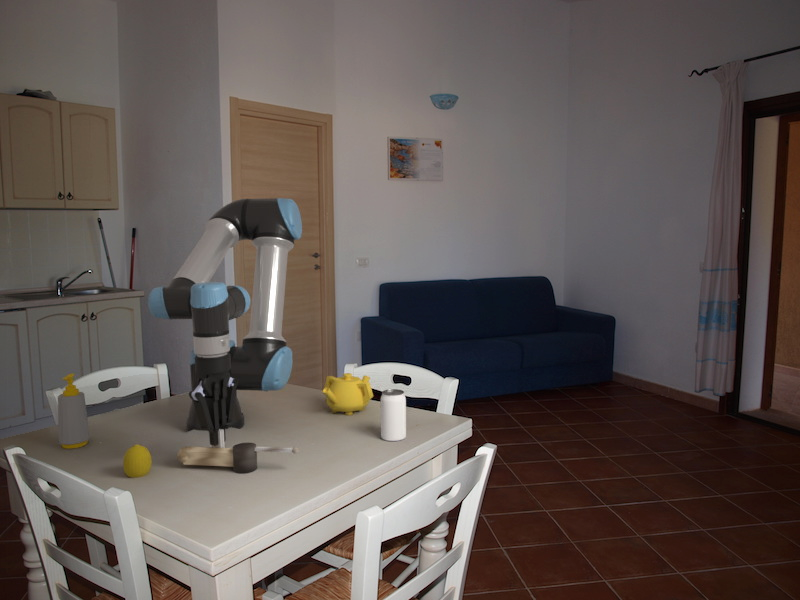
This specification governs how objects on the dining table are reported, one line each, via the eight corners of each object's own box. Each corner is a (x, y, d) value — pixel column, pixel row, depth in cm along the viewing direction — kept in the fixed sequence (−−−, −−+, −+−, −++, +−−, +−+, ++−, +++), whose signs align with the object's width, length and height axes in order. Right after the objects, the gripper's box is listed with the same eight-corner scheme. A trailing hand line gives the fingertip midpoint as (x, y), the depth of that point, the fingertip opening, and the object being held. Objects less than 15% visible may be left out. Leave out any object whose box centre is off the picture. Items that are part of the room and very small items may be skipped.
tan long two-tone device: (173, 470, 127) (171, 446, 127) (184, 461, 132) (183, 438, 132) (295, 475, 124) (294, 451, 123) (302, 466, 129) (301, 443, 128)
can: (403, 442, 147) (403, 396, 146) (378, 441, 148) (377, 394, 147) (408, 434, 153) (407, 389, 152) (384, 432, 155) (383, 388, 153)
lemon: (130, 475, 129) (127, 440, 128) (156, 474, 129) (154, 439, 128) (120, 486, 123) (117, 449, 122) (147, 485, 124) (145, 448, 123)
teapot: (347, 398, 188) (346, 363, 187) (392, 407, 177) (392, 371, 176) (302, 414, 172) (301, 376, 171) (349, 425, 161) (348, 385, 160)
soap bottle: (54, 450, 144) (48, 379, 142) (65, 441, 151) (60, 372, 149) (84, 448, 145) (79, 377, 143) (94, 439, 152) (89, 371, 150)
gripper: (203, 361, 121) (210, 471, 124) (245, 349, 132) (251, 450, 135) (177, 358, 124) (184, 465, 127) (220, 346, 135) (226, 445, 138)
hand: (218, 457), depth 131 cm, fingers closed
